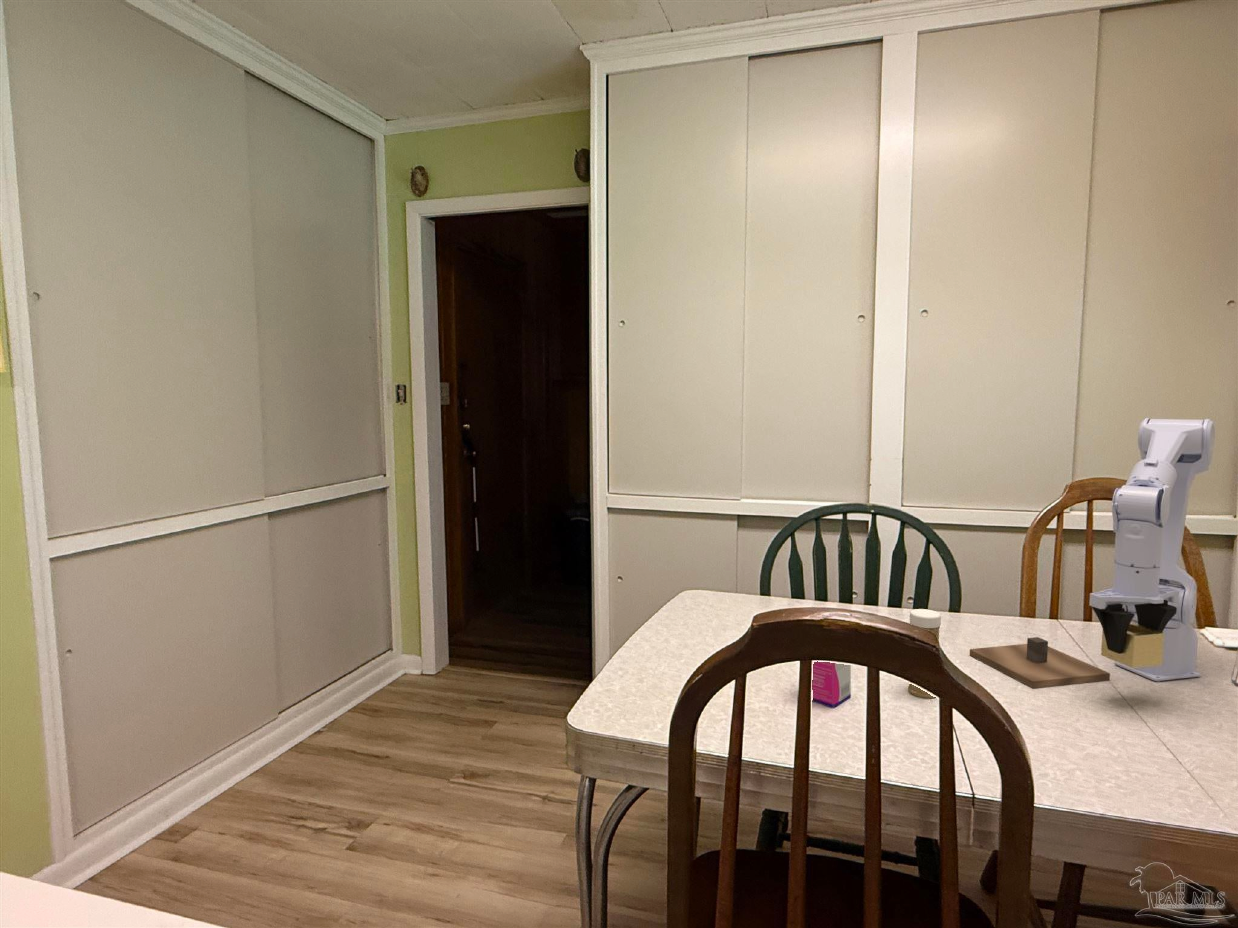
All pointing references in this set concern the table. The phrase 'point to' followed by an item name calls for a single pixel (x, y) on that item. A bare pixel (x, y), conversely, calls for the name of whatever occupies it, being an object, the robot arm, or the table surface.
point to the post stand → (1039, 664)
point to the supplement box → (831, 683)
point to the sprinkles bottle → (929, 622)
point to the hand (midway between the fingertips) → (1131, 649)
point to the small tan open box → (1138, 647)
